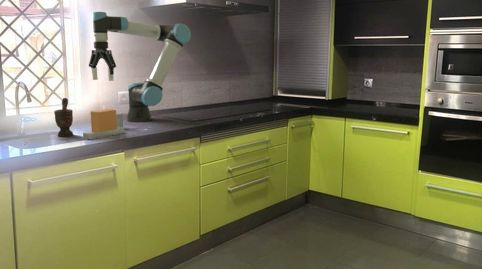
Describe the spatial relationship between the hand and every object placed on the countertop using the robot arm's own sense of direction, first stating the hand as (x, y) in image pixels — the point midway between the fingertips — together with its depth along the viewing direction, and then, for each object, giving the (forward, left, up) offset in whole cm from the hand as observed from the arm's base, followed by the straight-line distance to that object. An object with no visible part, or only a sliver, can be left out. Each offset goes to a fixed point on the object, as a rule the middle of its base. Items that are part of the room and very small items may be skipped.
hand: (103, 80), depth 244 cm
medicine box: (-1, +7, -27) cm, 28 cm away
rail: (+16, +19, -27) cm, 36 cm away
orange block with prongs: (+16, +19, -27) cm, 36 cm away
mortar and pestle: (+27, +3, -27) cm, 38 cm away
